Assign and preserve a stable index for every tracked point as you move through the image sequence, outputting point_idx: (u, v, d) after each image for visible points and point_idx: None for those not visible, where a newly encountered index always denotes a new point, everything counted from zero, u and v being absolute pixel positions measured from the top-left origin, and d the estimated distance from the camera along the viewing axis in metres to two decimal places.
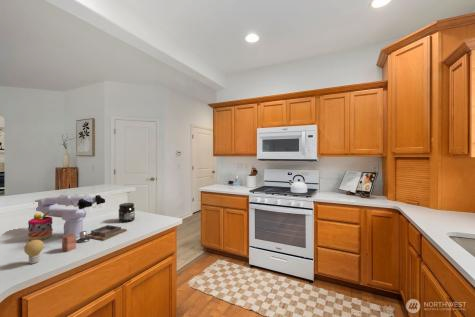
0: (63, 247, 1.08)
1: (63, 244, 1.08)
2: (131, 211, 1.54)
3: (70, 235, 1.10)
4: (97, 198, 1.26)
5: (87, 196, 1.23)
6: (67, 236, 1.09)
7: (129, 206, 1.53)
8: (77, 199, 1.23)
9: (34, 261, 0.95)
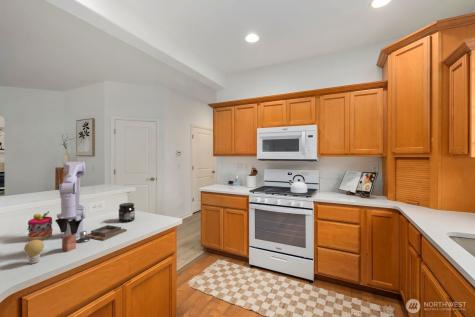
0: (63, 247, 1.08)
1: (63, 244, 1.08)
2: (131, 211, 1.54)
3: (70, 235, 1.10)
4: None
5: None
6: (67, 236, 1.09)
7: (129, 206, 1.53)
8: None
9: (34, 261, 0.95)
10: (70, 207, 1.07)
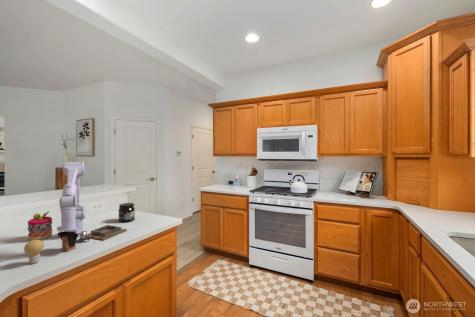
0: (63, 247, 1.08)
1: (63, 244, 1.08)
2: (131, 211, 1.54)
3: None
4: None
5: None
6: None
7: (129, 206, 1.53)
8: None
9: (34, 261, 0.95)
10: (70, 220, 1.07)
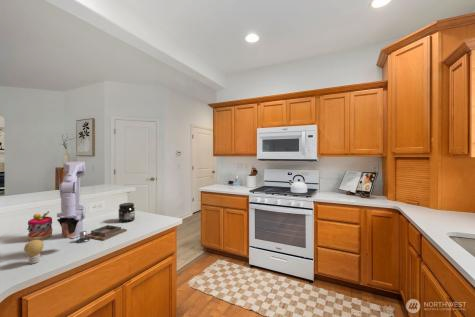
0: (63, 233, 1.08)
1: (63, 230, 1.08)
2: (131, 211, 1.54)
3: None
4: None
5: None
6: None
7: (129, 206, 1.53)
8: None
9: (34, 261, 0.95)
10: (70, 206, 1.07)
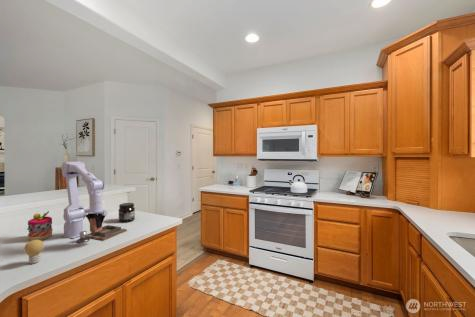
0: (91, 228, 1.15)
1: (91, 225, 1.15)
2: (131, 211, 1.54)
3: None
4: None
5: (90, 213, 1.14)
6: (94, 218, 1.16)
7: (129, 206, 1.53)
8: None
9: (34, 261, 0.95)
10: (98, 203, 1.15)
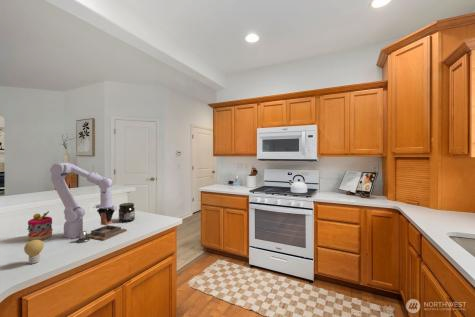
0: (102, 221, 1.29)
1: (102, 219, 1.29)
2: (131, 211, 1.54)
3: None
4: None
5: (101, 208, 1.27)
6: None
7: (129, 206, 1.53)
8: None
9: (34, 261, 0.95)
10: (108, 199, 1.28)
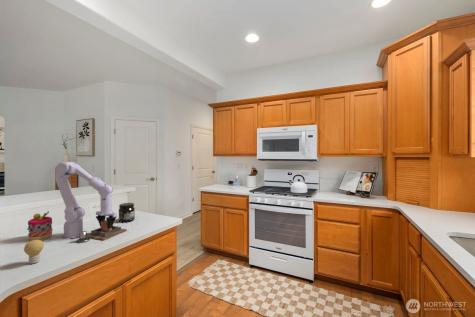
0: (102, 230, 1.29)
1: (102, 227, 1.29)
2: (131, 211, 1.54)
3: None
4: None
5: (101, 215, 1.27)
6: (105, 221, 1.30)
7: (129, 206, 1.53)
8: None
9: (34, 261, 0.95)
10: (108, 206, 1.29)
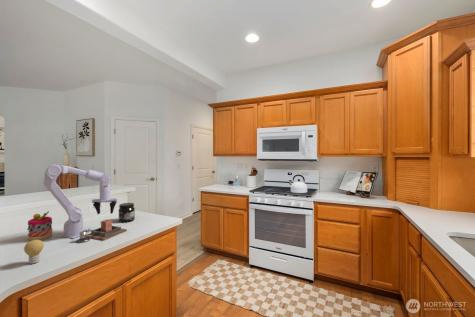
0: (102, 230, 1.29)
1: (102, 227, 1.29)
2: (131, 211, 1.54)
3: (107, 220, 1.31)
4: None
5: None
6: (105, 221, 1.30)
7: (129, 206, 1.53)
8: None
9: (34, 261, 0.95)
10: (109, 192, 1.37)
